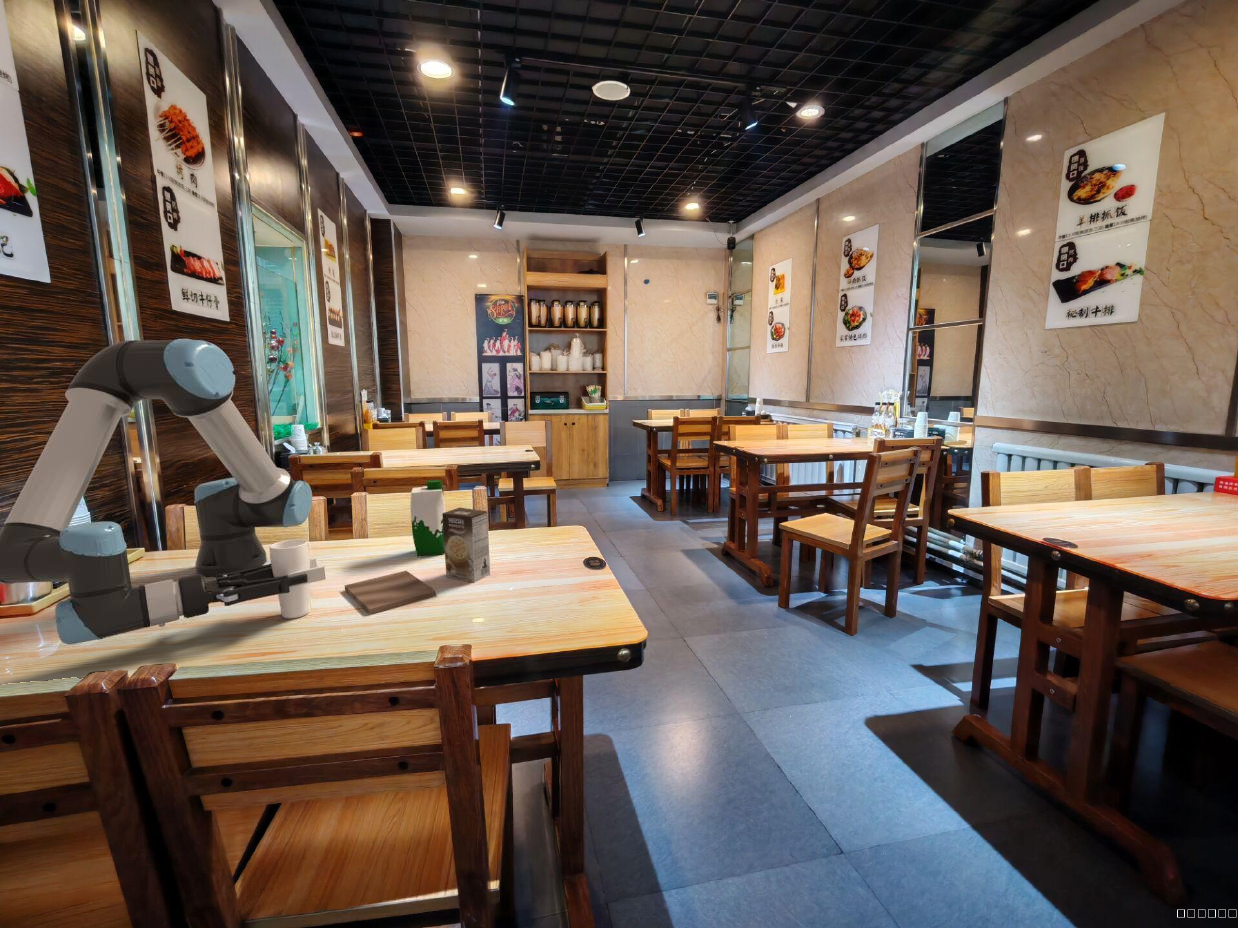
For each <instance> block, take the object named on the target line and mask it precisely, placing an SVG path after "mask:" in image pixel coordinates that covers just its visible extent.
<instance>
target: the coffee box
mask: <svg viewBox="0 0 1238 928" xmlns="http://www.w3.org/2000/svg"><path fill="white" fill-rule="evenodd" d="M442 516H443V532H444V548H445V554H444V559H445V560H444V561H445V563H444V564H445V577H447V578H451V579H456V580H461V581H467V582H473V583H475V582H478V581H480V580H481V579H483V578H485V577H487V576H489V575H491V562H490V561H491V560H490V559H491V558H490V541H489V521H488V520H489V519H488V518H489V517H488V510H480V509H473V508H468V507H467V508H464V507H460V506H459V507H457V508H454V509H452V510H448V511H446V512H445V513H442Z"/></svg>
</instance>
